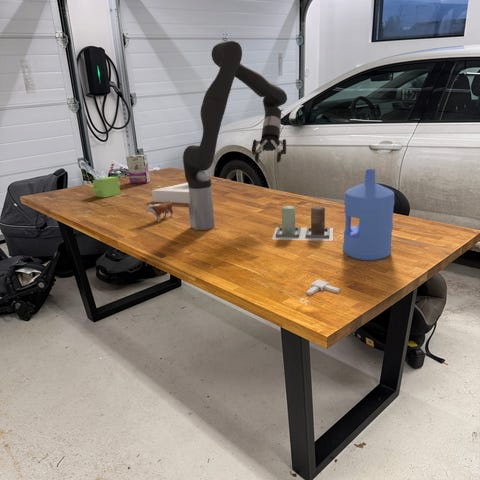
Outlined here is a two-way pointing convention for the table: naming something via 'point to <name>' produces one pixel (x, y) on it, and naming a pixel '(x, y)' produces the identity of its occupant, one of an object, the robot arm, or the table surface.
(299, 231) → the base plate
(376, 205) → the water jug
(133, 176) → the candy bar box
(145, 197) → the table surface
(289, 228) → the sage column
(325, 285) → the corner connector
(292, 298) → the table surface
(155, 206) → the bull figurine
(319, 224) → the walnut column
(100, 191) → the gearbox
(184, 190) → the triangle block
